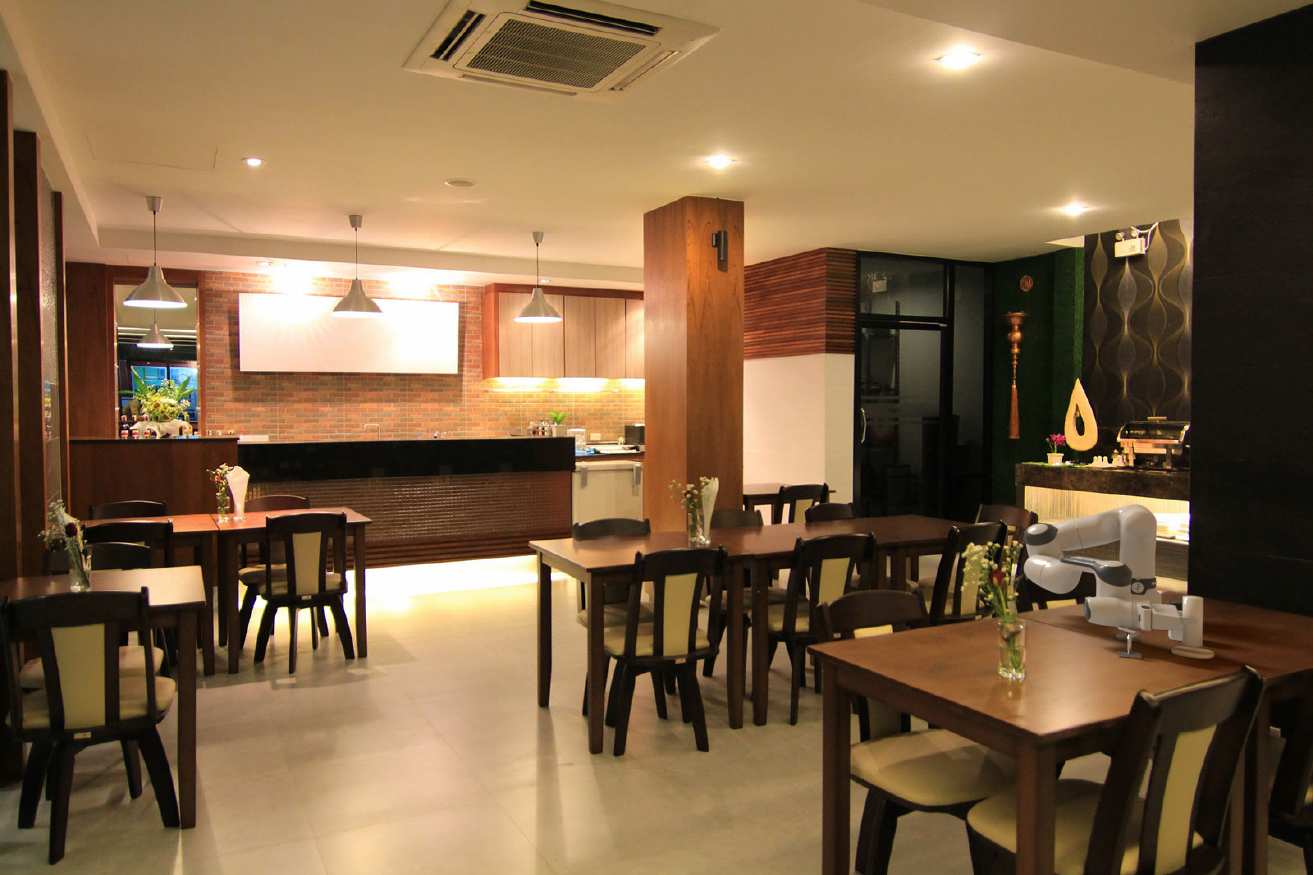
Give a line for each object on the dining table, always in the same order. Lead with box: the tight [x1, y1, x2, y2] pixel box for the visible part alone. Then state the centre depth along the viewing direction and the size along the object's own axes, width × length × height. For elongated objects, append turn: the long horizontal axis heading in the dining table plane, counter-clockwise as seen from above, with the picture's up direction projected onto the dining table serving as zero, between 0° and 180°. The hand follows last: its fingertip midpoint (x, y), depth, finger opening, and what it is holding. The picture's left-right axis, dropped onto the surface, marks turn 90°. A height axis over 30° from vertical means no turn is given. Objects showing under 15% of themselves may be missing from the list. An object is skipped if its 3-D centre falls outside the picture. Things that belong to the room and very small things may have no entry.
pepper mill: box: [1181, 595, 1204, 648], centre depth 269 cm, size 5×5×14 cm
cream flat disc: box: [1170, 645, 1215, 660], centre depth 269 cm, size 11×11×1 cm
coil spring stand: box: [1116, 626, 1142, 660], centre depth 276 cm, size 25×6×6 cm, turn 154°
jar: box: [1167, 598, 1183, 642], centre depth 286 cm, size 9×8×12 cm
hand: (1196, 618), depth 268 cm, fingers closed on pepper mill, 5 cm apart
